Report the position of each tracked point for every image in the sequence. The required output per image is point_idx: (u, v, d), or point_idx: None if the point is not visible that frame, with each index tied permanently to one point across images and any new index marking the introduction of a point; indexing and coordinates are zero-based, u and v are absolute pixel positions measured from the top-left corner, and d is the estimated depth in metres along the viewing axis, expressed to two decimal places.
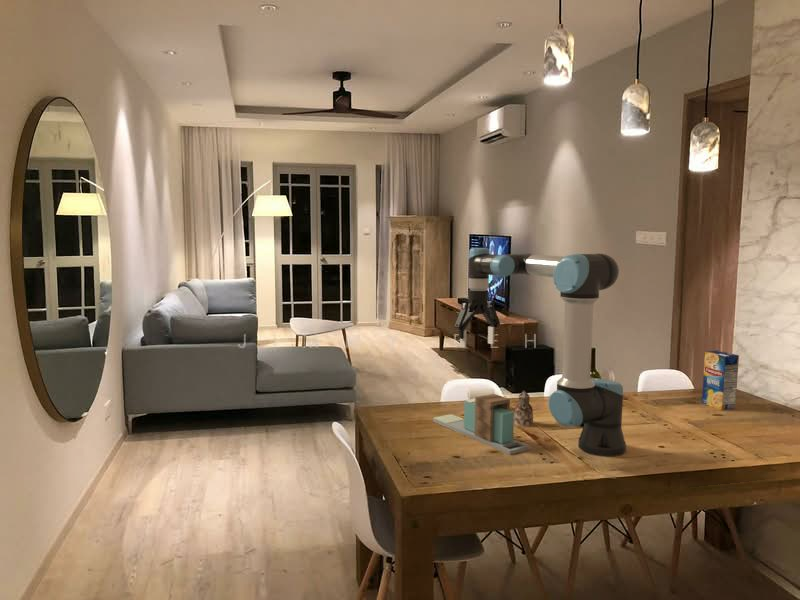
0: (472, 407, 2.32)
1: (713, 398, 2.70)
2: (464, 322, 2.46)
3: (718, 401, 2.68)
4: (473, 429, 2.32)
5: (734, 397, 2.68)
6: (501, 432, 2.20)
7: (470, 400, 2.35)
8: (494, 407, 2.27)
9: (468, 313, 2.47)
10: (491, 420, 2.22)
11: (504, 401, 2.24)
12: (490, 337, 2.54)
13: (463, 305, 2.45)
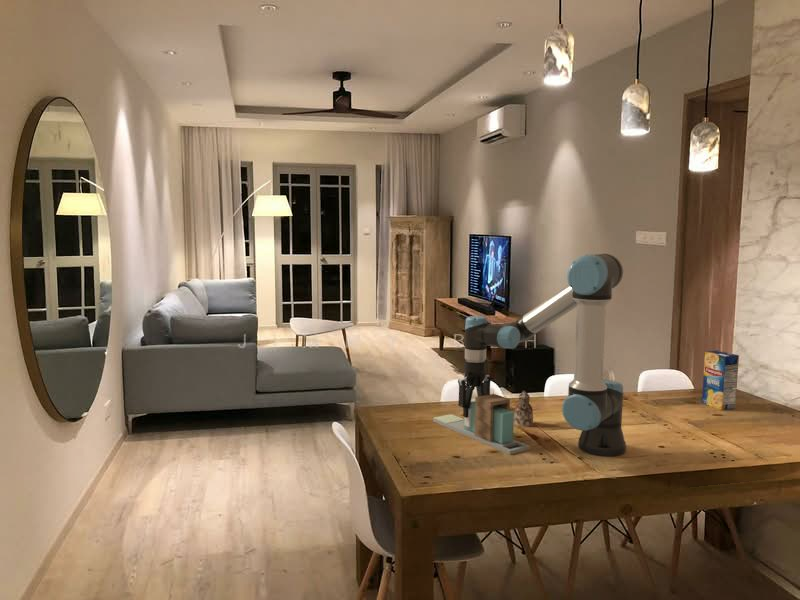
0: (472, 407, 2.32)
1: (713, 398, 2.70)
2: (466, 400, 2.32)
3: (718, 401, 2.68)
4: (473, 429, 2.32)
5: (734, 397, 2.68)
6: (501, 432, 2.20)
7: None
8: (494, 407, 2.27)
9: (467, 388, 2.33)
10: (491, 420, 2.22)
11: (504, 401, 2.24)
12: None
13: (459, 382, 2.30)
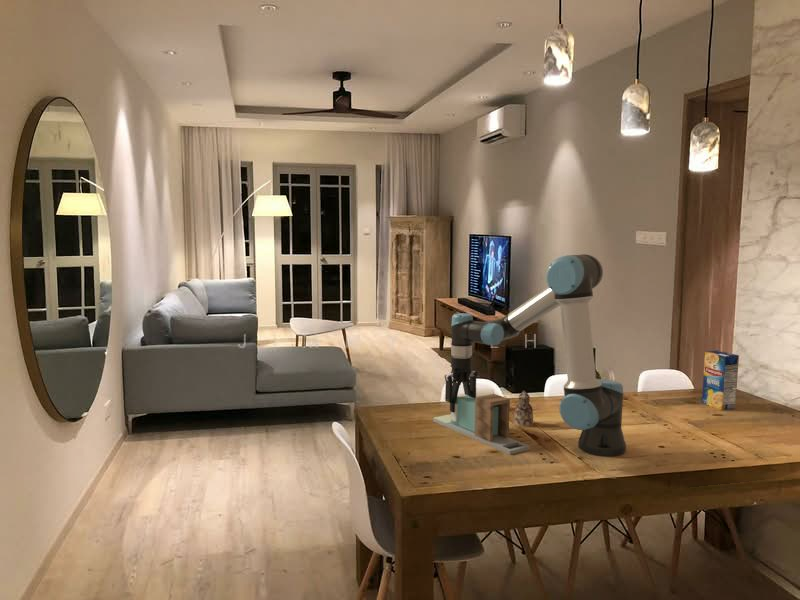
0: (458, 402, 2.38)
1: (713, 398, 2.70)
2: (453, 395, 2.38)
3: (718, 401, 2.68)
4: (459, 423, 2.38)
5: (734, 397, 2.68)
6: None
7: (457, 395, 2.41)
8: None
9: (454, 383, 2.39)
10: (491, 420, 2.22)
11: (504, 401, 2.24)
12: None
13: (446, 378, 2.37)
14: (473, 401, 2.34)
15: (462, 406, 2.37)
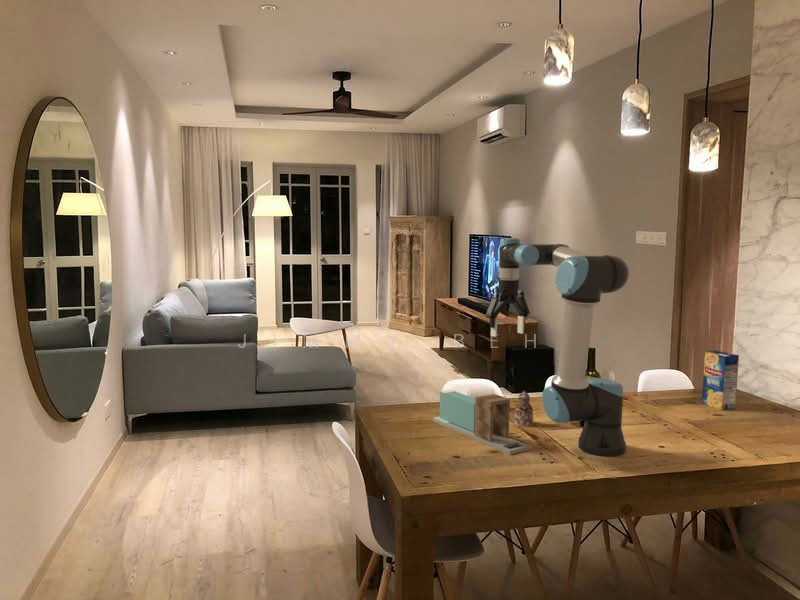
0: (446, 398, 2.44)
1: (713, 398, 2.70)
2: (495, 311, 2.48)
3: (718, 401, 2.68)
4: (448, 419, 2.44)
5: (734, 397, 2.68)
6: (473, 421, 2.32)
7: (445, 391, 2.47)
8: (467, 397, 2.39)
9: (499, 302, 2.50)
10: (491, 420, 2.22)
11: (504, 401, 2.24)
12: (520, 326, 2.56)
13: (494, 294, 2.47)
14: (461, 397, 2.40)
15: (450, 402, 2.42)
